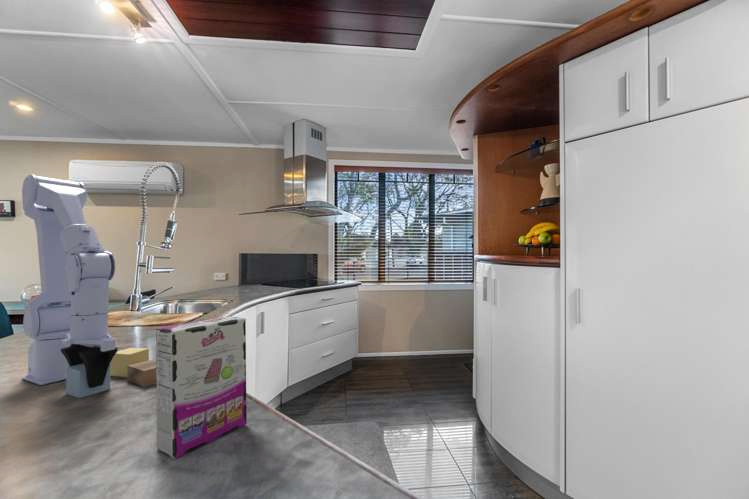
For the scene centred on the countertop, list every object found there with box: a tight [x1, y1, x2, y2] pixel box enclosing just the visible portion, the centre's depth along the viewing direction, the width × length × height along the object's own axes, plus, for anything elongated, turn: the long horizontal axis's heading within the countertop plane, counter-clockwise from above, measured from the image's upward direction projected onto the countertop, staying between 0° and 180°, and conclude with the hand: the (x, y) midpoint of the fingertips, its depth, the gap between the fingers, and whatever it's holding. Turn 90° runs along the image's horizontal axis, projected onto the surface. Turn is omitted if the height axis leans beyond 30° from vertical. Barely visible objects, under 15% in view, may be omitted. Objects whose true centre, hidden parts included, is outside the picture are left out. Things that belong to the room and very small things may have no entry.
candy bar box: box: [155, 315, 247, 460], centre depth 50 cm, size 11×5×16 cm, turn 148°
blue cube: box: [65, 364, 111, 399], centre depth 67 cm, size 5×5×5 cm
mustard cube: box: [110, 347, 150, 378], centre depth 78 cm, size 5×5×5 cm
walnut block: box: [126, 358, 157, 388], centre depth 74 cm, size 7×7×4 cm
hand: (88, 383), depth 67 cm, fingers closed on blue cube, 5 cm apart
